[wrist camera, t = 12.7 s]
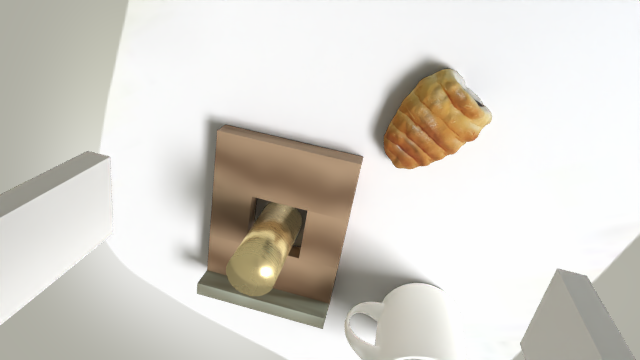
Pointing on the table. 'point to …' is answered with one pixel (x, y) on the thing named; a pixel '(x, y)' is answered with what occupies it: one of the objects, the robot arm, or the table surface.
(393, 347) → the mug
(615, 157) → the table surface
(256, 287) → the brass cylinder rod
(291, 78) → the table surface
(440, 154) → the pastry
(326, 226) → the jig
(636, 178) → the table surface
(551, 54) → the table surface
